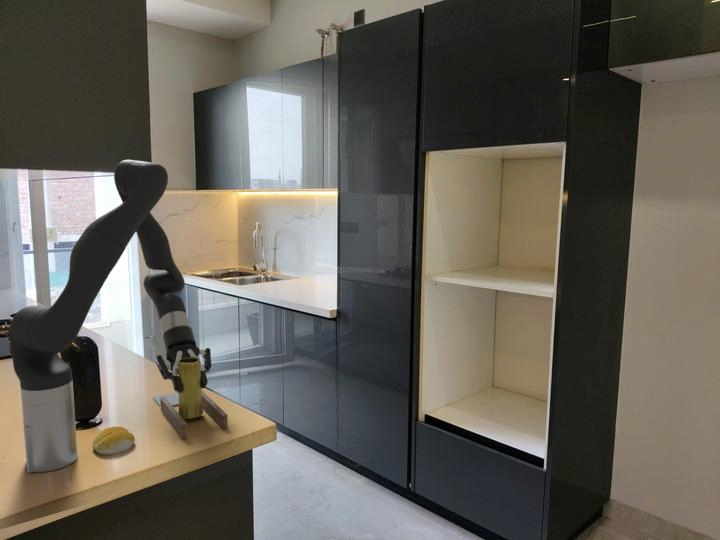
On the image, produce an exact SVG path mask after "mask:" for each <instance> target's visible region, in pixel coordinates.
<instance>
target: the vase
mask: <svg viewBox="0 0 720 540" xmlns="http://www.w3.org/2000/svg"><path fill="white" fill-rule="evenodd" d="M200 362H201V359H200V358H199V357H186V358H182V359H180V360H179V361H178V376H179V379H180V383H181V387H182V391H181V393H179V406H178V411H177V412H178V413H179V415H180V416H181V417H182V418H183V419H184V420H190V419H191V420H192V419H196V418H199V417H201V416H202V415H203V414H204V409H203V408H202V391H203V389H202V388H201V370H200Z"/></svg>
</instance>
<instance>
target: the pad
mask: <svg viewBox="0 0 720 540" xmlns="http://www.w3.org/2000/svg"><path fill="white" fill-rule="evenodd" d="M163 397H165V398H166V399H167V400H168V401H169V402H170V404H171V405H172V406H174V407H176V406H175V405H179V393H177V391H175V392H172V393H167V394H162V395H161V394H160V395H156V396H153V397H152V398H154V399H153V400H154V402H155V403H156V402H157V403H156V404H157V405H158V407H159V406H160V407H161V403H160V398H163ZM160 407H159V408H160Z"/></svg>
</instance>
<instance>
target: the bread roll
mask: <svg viewBox="0 0 720 540" xmlns="http://www.w3.org/2000/svg"><path fill="white" fill-rule="evenodd" d="M135 441H136V438H135V436H134V434H133V433H132V432H130V431H129V430H128V429H126V428H125V427H122V426H111V427H106V428H104V429H103V430H100V432H99V433H97V435H96V436H95V437H94V439H93V440H92V445H91V446H92V449H93V450H94V451H96V452H97V453H98V454H101V455H105V456H107V455H109V456H110V455H115V454H118V453H119V454H120V453H123V452H125V451H128V450H129V449H131V447H132V446H133V445H134V444H135ZM122 451H123V452H122Z"/></svg>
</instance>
